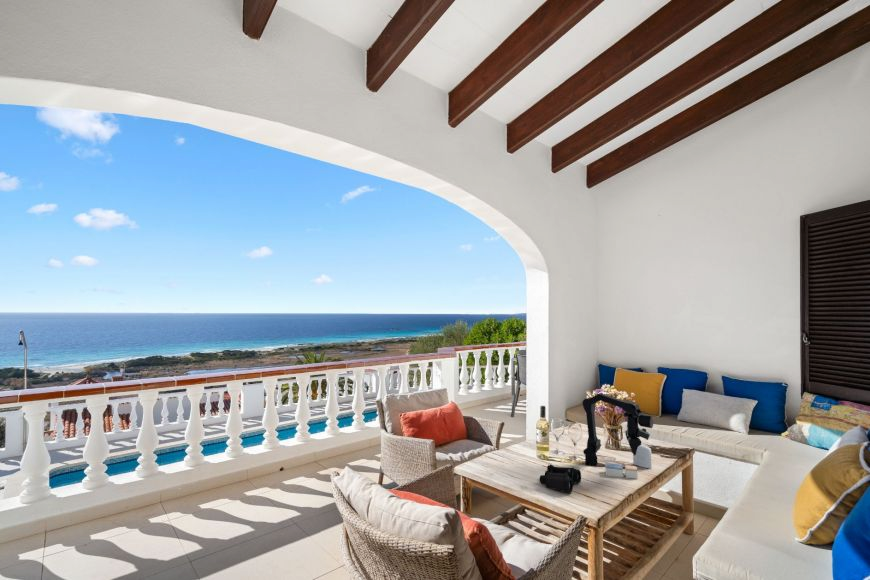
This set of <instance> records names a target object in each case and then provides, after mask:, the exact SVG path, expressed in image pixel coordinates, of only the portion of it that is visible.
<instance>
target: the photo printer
mask: <svg viewBox="0 0 870 580" xmlns="http://www.w3.org/2000/svg"><path fill="white" fill-rule="evenodd" d="M632 455H633V454H632ZM652 457H653V456H652V449H651V448H650V447H649V446H646V445H643V444H641V445H640V446H638V448H637V452H636V455H633V457H632V458H633V459H632V460H633V462H632V463H633V466H636V467H637V466H638V467H642V468H646V469H652V468H653V466H652V465H653V464H652V463H653V462H652V461H653V460H652Z"/></svg>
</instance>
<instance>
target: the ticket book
mask: <svg viewBox="0 0 870 580" xmlns="http://www.w3.org/2000/svg"><path fill="white" fill-rule="evenodd" d="M604 467H605V476H609V477H616V478H626V476H625V472H624V467H623V464H620V463H612V462H605V465H604Z"/></svg>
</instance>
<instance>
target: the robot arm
mask: <svg viewBox="0 0 870 580" xmlns="http://www.w3.org/2000/svg"><path fill="white" fill-rule="evenodd" d="M598 402H603V403H606V404H610V405H612V406H615V407H618V408H620V409H621V410H623V411H624V414H622V416H624V417H626V430H625V431H624V433H625V438H626V440H627V442H628V443H627V444H628V445H629V447H630V450H631V452H632V455H636V452H637V448H638V446H640V445H642V440H641V439H640V438H643V439H645V441H648V440H649V437H650V436H651V434H650V433H649V431H647V429H646V428H649V429H653V427H654V418H653V417H652V415H649V414H644V413H643V412H642V410H641V409H640V407H639V404H638V403H637V402H635V401H630V400H624V399H623V400H622V399H620V398H616V397H613V396H611V395H608V394H605V393H603V392H599V393H597V394H596V395H593V396H592V397H591V396H589V397H587V398H584V399H583V400H582V401H581V403H582V408H583V410H584V412H585V415H586V423H587V424H586V425H587V436H588V437H587V441H586V448H585V449H583V450H582V452H583V455H584V457H585V458H584V459H585V464H584V465H586V466H595V467H597V466H598V456H597V453H598V451H600V450H601V447H602V443H601V442H602V441H601V438H600V439H599V438H598V437H597V429H596V419H595V418H596V416H595V412H596V411H595V410H596V407H597V406H596V404H597V403H598ZM639 426H640V427H643V428H639Z"/></svg>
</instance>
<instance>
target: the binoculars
mask: <svg viewBox="0 0 870 580" xmlns="http://www.w3.org/2000/svg"><path fill="white" fill-rule="evenodd" d="M546 469H547V470H546V471H545V472H544V474H541V475H540V476H539V483H540V484H543V485H545V487H546V488H547V489H549V488H550V489H553V490H556V491H560V492H563V493H568V494H569V493H573V490H574V484H580V483H581V481H582V472H581V470H580V469H577V468H575V467H565V466H564V467H560V466H555V465H553V464H548V465H547V468H546Z"/></svg>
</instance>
